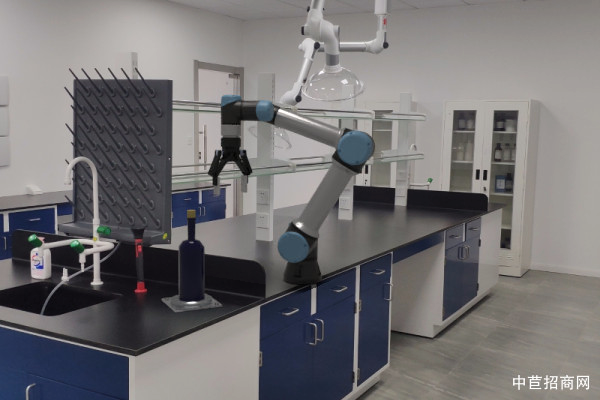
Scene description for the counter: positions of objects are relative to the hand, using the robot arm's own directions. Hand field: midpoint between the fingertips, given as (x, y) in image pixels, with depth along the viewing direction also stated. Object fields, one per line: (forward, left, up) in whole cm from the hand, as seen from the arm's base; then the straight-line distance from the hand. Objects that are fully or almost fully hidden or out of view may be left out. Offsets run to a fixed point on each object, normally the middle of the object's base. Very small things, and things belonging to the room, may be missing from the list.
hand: (230, 193), depth 236 cm
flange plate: (+22, +20, -35) cm, 46 cm away
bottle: (+22, +20, -33) cm, 45 cm away
